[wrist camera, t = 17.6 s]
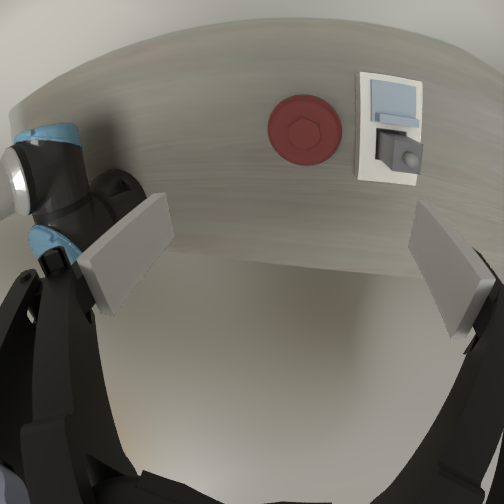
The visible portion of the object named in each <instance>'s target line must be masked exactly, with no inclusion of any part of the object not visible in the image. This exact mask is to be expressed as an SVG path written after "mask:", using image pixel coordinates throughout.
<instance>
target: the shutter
mask: <svg viewBox="0 0 504 504" xmlns="http://www.w3.org/2000/svg"><path fill="white" fill-rule="evenodd" d="M370 82H371V121H374V122H382V123H390V124H397V125H404V126H410V127H416V128H419V121H420V120H418V119H416V87H415V86H410V85H405V84H399V83H394V82H387V81H381V80H373V79H371V80H370Z"/></svg>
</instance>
